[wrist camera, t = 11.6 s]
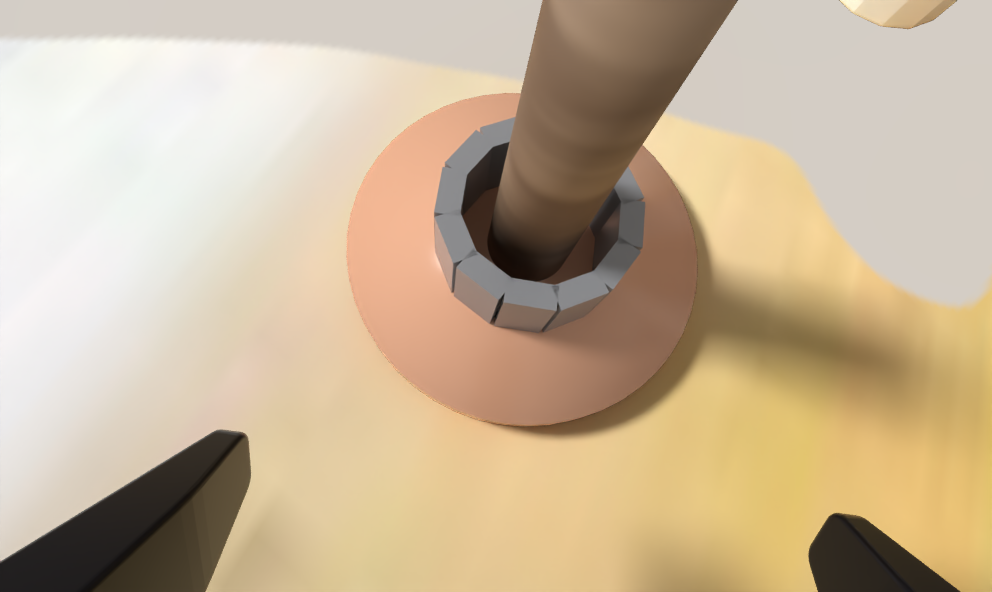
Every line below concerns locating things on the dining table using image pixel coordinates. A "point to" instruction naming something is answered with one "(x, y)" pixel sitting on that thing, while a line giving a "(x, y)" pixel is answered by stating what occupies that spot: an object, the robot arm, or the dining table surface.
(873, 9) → the white cup
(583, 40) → the walnut dowel
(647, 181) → the dowel holder
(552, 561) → the dining table surface
